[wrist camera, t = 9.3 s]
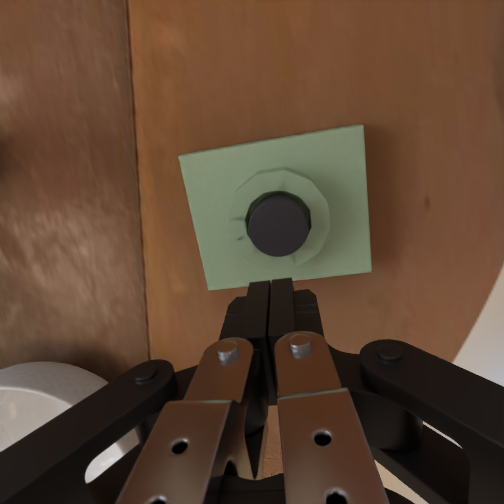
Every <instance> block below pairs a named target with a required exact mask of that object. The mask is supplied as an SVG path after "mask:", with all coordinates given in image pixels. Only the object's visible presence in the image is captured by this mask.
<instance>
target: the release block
mask: <svg viewBox="0 0 504 504" xmlns="http://www.w3.org/2000/svg"><path fill="white" fill-rule="evenodd" d="M178 158H179V162H180V167H181V171H182V176H183V180H184V184H185V189H186V193H187V198H188V202H189V207H190V211H191V215H192V220H193V224H194V229H195V233H196V237H197V242H198V246H199V251H200V255H201V259H202V264H203V268H204V273H205V277H206V281H207V286H208V290H209V291H211V290H219V289H228V288H237V287H245V286H249V283H250V282H257V281H265V280H270V282H271V281H272V280H273V279H282V278H291V277H292V281H297V280H306V279H315V278H323V277H332V276H341V275H349V274H358V273H366V272H372V264H371V247H370V229H369V211H368V193H367V175H366V157H365V139H364V125H359V124H355V125H349V126H343V127H337V128H331V129H325V130H319V131H313V132H307V133H302V134H296V135H290V136H284V137H278V138H272V139H266V140H260V141H254V142H248V143H242V144H236V145H230V146H224V147H219V148H213V149H207V150H201V151H195V152H189V153H185V154H182V155H179V156H178ZM275 194H282V195H287V196H290V197H292V198H293V199H295V200H296V201H297V202H299V204H300V205H301V206H302V208H303V209H304V212H305V215H306V218H307V223H308V233H307V237H306V240H305V242H304V243H303V245H302V246H301V247H300V248H299V249H298V250H297V251H295V252H294V253H292V254H290V255H287V256H283V257H274V256H269V255H266V254H264V253H262V252H261V251H259V250H258V249H257V248H256V247H255V246H254V244H253V243H252V241H251V239H250V236H249V232H248V225H249V220H250V217H251V214H252V211H253V209H254V207H255V206H256V205H257V203H258V202H259V201H261V200H262V199H263V198H265V197H267V196H270V195H275Z"/></svg>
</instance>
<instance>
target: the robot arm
mask: <svg viewBox="0 0 504 504" xmlns="http://www.w3.org/2000/svg"><path fill="white" fill-rule="evenodd" d="M224 321H225V322H224V323H223V327H222V330H221V334H220V337H219V341H217V342H215V343H213V344H212V345H210V346H209V347H208V348H207V349H206V350H205V352H204V353H203V356H202V358H201V360H200V362H199V365H196V366H194V367H191V368H188V369H184V370H181V371H178V372H174V368H173V365H172V364H171V363H170V362H168V361H166V360H159V359H158V360H150V361H146V362H143V363H141V364H139V365H137V366H135V367H133V368H132V369H130V370H129V371H127V372H125V373H124V374H122V375H121V376H119V377H118V378H116V379H114V380H113V381H111V382H110V383H108V384H107V385H105V386H103V387H102V388H100V389H99V390H97V391H96V392H94V393H92V394H91V395H89V396H88V397H86V398H85V399H83V400H81V401H80V402H78V403H77V404H75V405H74V406H72V407H70V408H69V409H67V410H66V411H64V412H63V413H61V414H59V415H58V416H56V417H55V418H53V419H52V420H50V421H48V422H47V423H45V424H44V425H42V426H41V427H39V428H37V429H36V430H34V431H33V432H31V433H30V434H28V435H26V436H25V437H23V438H22V439H20V440H19V441H17V442H15V443H14V444H12V445H11V446H9V447H8V448H6V449H4V450H3V451H1V452H0V504H414V503H413V502H411V501H410V500H408V499H407V498H405V497H403V496H401V495H399V494H398V493H396V492H394V491H391V490H389V489H387V488H385V487H383V483H382V481H381V478H380V475H379V472H378V470H377V467H376V464H375V461H374V459H375V460H376V461H377V462H378V463H380V464H381V465H382V466H384V467H385V468H386V469H387V470H388V471H390V472H391V473H392V474H393V475H395V476H396V477H397V478H398V479H399V480H401V481H402V482H403V483H404V484H406V485H407V486H408V487H409V488H411V489H412V490H413V491H414V492H415V493H417V494H418V495H419V496H420V497H422V498H423V499H424V500H425V501H427V502H428V503H429V504H504V387H503V386H501V385H499V384H496V383H494V382H492V381H490V380H487V379H485V378H483V377H481V376H479V375H476V374H474V373H472V372H470V371H467V370H465V369H463V368H460V367H459V366H456V365H454V364H452V363H450V362H447V361H445V360H443V359H441V358H439V357H436V356H434V355H432V354H430V353H427V352H425V351H423V350H421V349H419V348H416V347H414V346H412V345H410V344H407V343H405V342H402V341H398V340H390V339H383V340H377V341H373V342H370V343H368V344H366V345H365V346H364V347H363V348H362V349H361V351H360V354H351V353H345V352H341V351H339V350H336V349H334V348H332V347H331V346H330V345H329V344H328V343H327V342H326V340H325V338H324V333H323V328H322V323H321V318H320V313H319V308H318V303H317V298H316V295H315V294H314V293H312V292H311V291H310V290H309V289H305V290H296V291H294V288H293V281H292V277H291V278H282V279H273V280H272V281H271V282H270V280H265V281H257V282H250V283H249V288H248V293H247V296H243V297H236V298H235V299H234V300H233V301H232V302H231V303H230V304H229V306H228V309H227V313H226V316H225V320H224ZM277 404H278V416H279V427H280V439H281V450H282V462H283V473H281V474H278V475H274V476H271V477H268V478H264V479H262V474H263V467H264V459H265V452H266V444H267V436H268V423H267V416H268V406H271V405H277ZM423 421H424V422H426V423H427V424H429V425H431V426H432V427H434V428H435V429H437V430H439V431H440V432H442V433H443V434H445V435H447V436H448V437H450V438H452V439H453V440H454V441H456V442H457V443H458V444H459V445H460V446H461V447H462V448H461V447H459V446H457V445H456V444H454V443H453V442H451V441H449V440H448V439H446V438H445V437H443V436H441V435H440V434H438V433H437V432H435V431H433V430H432V429H430V428H429V427H427V426H426V425H424V424H423ZM132 429H135V432H136V435H137V437H138V440H139V444H137V445H136V446H135V447H134V448H132V449H131V450H130V451H129V452H127V453H126V454H125V455H124V456H122V457H121V458H120V459H119V460H117V461H116V462H115V463H114V464H112V465H111V466H110V467H109V468H107V469H106V470H105V471H104V472H102V473H101V474H100V475H99V476H97V477H96V478H95V479H94V480H92V481H91V482H89V483H86V481H85V473H86V470H87V468H88V466H89V464H90V463H91V462H92V461H93V460H94V459H95V458H96V457H97V456H98V455H100V454H101V453H102V452H104V451H105V450H106V449H108V448H109V447H110V446H111V445H113V444H114V443H115V442H117V441H118V440H119V439H121V438H122V437H123V436H125V435H126V434H127V433H128V432H130V431H131V430H132Z"/></svg>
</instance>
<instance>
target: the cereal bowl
mask: <svg viewBox="0 0 504 504" xmlns="http://www.w3.org/2000/svg"><path fill="white" fill-rule="evenodd" d="M107 384H108V382H107V381H106V380H105V379H103V378H101V377H99V376H97V375H96V374H93V373H91V372H89V371H87V370H84V369H83V368H79V367H77V366H73V365H71V364H65V363H58V362H50V361H48V362H44V361H39V362H29V363H21V364H18V365H13V366H10V367H7V368H4V369H1V370H0V452H1V451H3V450H4V449H6V448H8V447H9V446H11V445H12V444H14V443H15V442H17V441H19V440H20V439H22V438H23V437H25V436H26V435H28V434H30V433H31V432H33V431H34V430H36V429H37V428H39V427H41V426H42V425H44V424H45V423H47V422H48V421H50V420H52V419H53V418H55V417H56V416H58V415H59V414H61V413H63V412H64V411H66V410H67V409H69V408H70V407H72V406H74V405H75V404H77V403H78V402H80V401H81V400H83V399H85V398H86V397H88V396H89V395H91V394H92V393H94V392H96V391H97V390H99V389H100V388H102V387H103V386H105V385H107ZM137 444H139V440H138V437H137V435H136V432H135V429H132V430H131V431H130V432H128V433H127V434H126V435H125V436H123V437H122V438H121V439H119V440H118V441H117V442H115V443H114V444H113V445H111V446H110V447H109V448H108V449H106V450H105V451H104V452H102V453H101V454H100V455H98V456H97V457H96V458H95V459H94V460H93V461H92V462H91V463H90V464H89V466H88V468H87V470H86V473H85V481H86V483H89V482H91V481H92V480H94V479H95V478H96V477H97V476H99V475H100V474H101V473H102V472H104V471H105V470H106V469H107V468H109V467H110V466H111V465H112V464H114V463H115V462H116V461H117V460H119V459H120V458H121V457H122V456H124V455H125V454H126V453H127V452H129V451H130V450H131V449H132V448H134V447H135V446H136V445H137Z"/></svg>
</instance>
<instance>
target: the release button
mask: <svg viewBox="0 0 504 504" xmlns="http://www.w3.org/2000/svg"><path fill="white" fill-rule="evenodd" d="M248 232H249V236H250V239H251V241H252V243H253V244H254V246H255V247H256V248H257V249H258V250H259V251H261V252H262V253H264V254H266V255H269V256H274V257H283V256H287V255H290V254H292V253H294V252H295V251H297V250H298V249H299V248H300V247H301V246H302V245H303V243H304V242H305V240H306V237H307V233H308V223H307V218H306V215H305V212H304V209H303V208H302V206H301V205H300V204H299V202H297V201H296V200H295V199H293V198H292V197H290V196H287V195H282V194H275V195H270V196H267V197H265V198H263V199H262V200H261V201H259V202H258V203H257V205H256V206H255V207H254V209H253V211H252V214H251V217H250V220H249V225H248Z"/></svg>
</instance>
